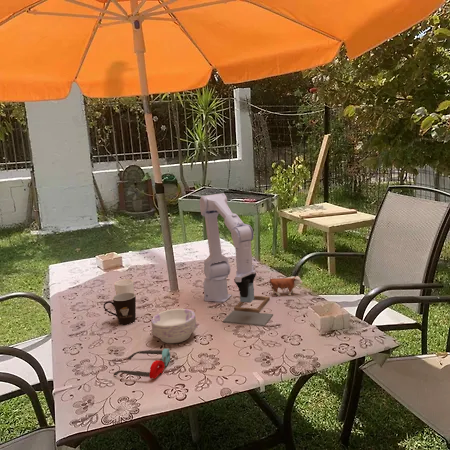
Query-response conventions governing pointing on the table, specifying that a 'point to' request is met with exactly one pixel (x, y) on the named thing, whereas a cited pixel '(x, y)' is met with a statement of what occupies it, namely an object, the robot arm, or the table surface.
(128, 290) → the white cup
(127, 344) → the table surface
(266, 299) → the pocket frame
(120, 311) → the coffee mug
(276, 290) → the bull figurine
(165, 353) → the novelty glasses
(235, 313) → the rubber mat
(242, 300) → the blue block
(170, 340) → the white round bowl
